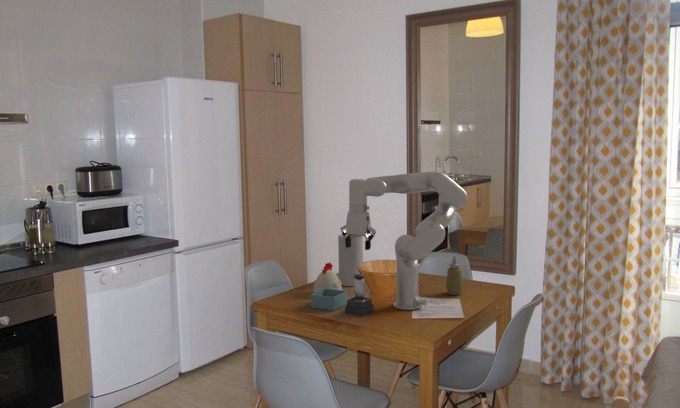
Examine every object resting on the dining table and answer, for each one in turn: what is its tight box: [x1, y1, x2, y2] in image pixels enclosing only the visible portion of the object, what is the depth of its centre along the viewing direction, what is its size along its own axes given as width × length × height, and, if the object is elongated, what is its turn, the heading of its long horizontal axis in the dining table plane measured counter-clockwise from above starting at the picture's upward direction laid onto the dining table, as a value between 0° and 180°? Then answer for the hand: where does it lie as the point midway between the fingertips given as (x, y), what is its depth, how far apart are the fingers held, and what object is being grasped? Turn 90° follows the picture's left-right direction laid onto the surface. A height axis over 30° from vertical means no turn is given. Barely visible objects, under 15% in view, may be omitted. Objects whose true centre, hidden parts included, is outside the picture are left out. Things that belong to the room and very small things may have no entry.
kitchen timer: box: [312, 262, 343, 294], centre depth 268 cm, size 14×14×15 cm
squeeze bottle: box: [445, 255, 464, 296], centre depth 265 cm, size 8×8×18 cm
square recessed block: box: [344, 296, 375, 317], centre depth 239 cm, size 9×9×6 cm
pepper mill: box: [354, 273, 365, 302], centre depth 238 cm, size 5×5×13 cm
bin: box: [310, 288, 349, 312], centre depth 249 cm, size 12×12×6 cm
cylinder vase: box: [337, 233, 364, 287], centre depth 286 cm, size 12×12×25 cm
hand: (357, 248), depth 238 cm, fingers open, 9 cm apart
